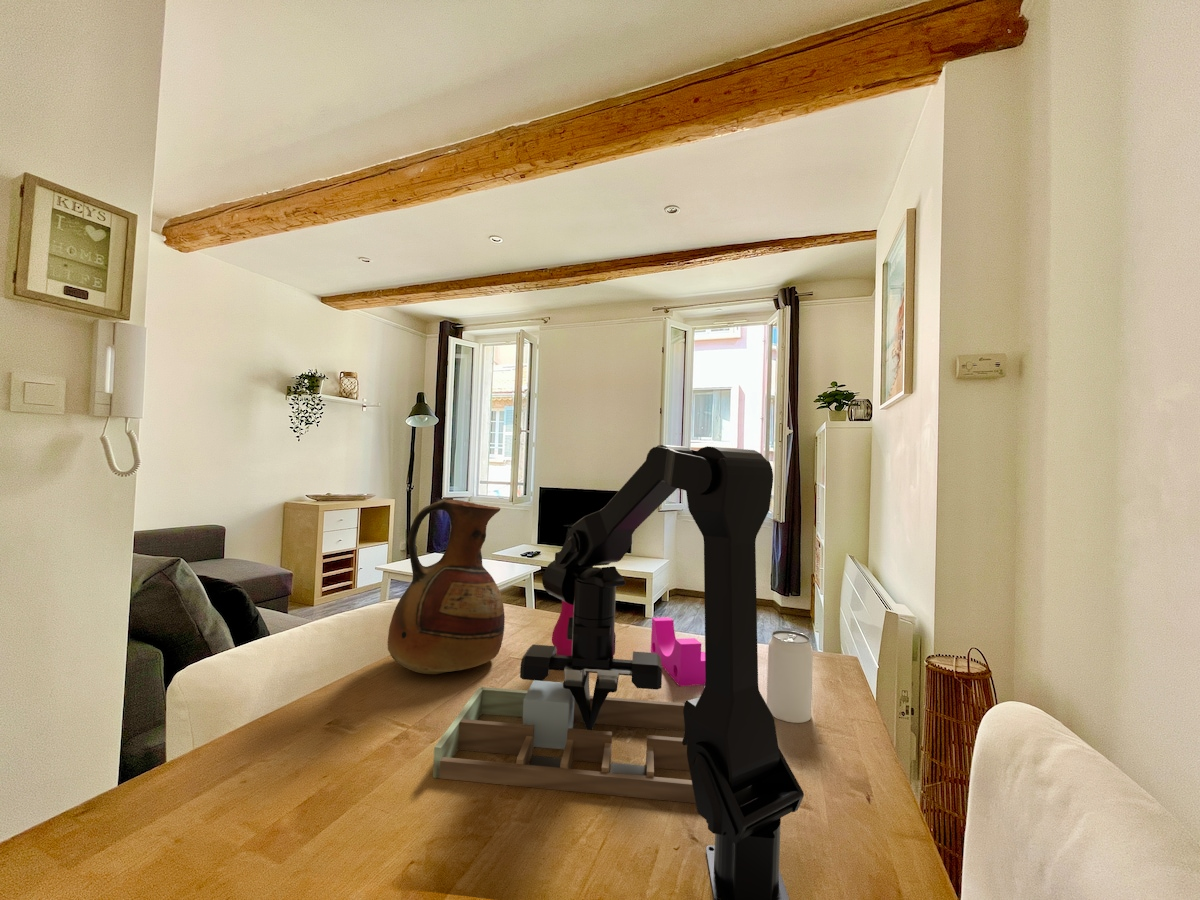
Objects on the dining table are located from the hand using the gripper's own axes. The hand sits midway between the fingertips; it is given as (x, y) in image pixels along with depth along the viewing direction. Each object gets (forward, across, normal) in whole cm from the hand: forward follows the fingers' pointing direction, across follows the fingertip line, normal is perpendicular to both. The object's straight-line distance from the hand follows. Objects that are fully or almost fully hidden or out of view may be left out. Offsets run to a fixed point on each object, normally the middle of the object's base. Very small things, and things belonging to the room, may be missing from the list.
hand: (589, 729), depth 69 cm
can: (+2, -30, -12) cm, 32 cm away
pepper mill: (+2, +6, -26) cm, 27 cm away
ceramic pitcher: (+1, +28, -21) cm, 35 cm away
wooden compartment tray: (+1, 0, 0) cm, 1 cm away
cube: (+1, +6, 0) cm, 6 cm away
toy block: (+2, -14, -27) cm, 30 cm away
